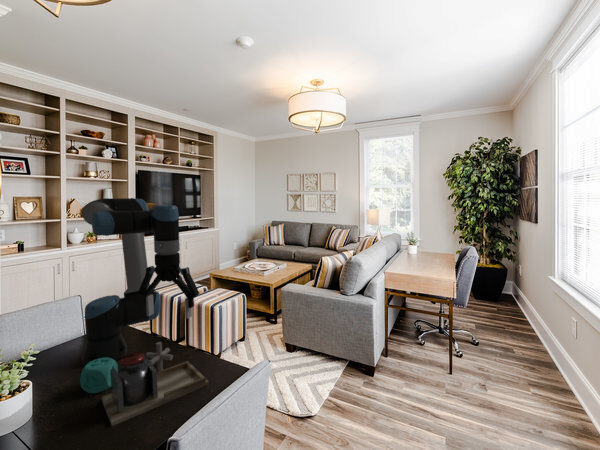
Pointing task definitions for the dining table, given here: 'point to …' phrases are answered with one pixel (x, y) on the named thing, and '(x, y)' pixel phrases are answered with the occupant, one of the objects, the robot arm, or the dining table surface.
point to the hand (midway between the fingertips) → (169, 316)
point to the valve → (133, 381)
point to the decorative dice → (97, 375)
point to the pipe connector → (159, 356)
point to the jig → (160, 391)
